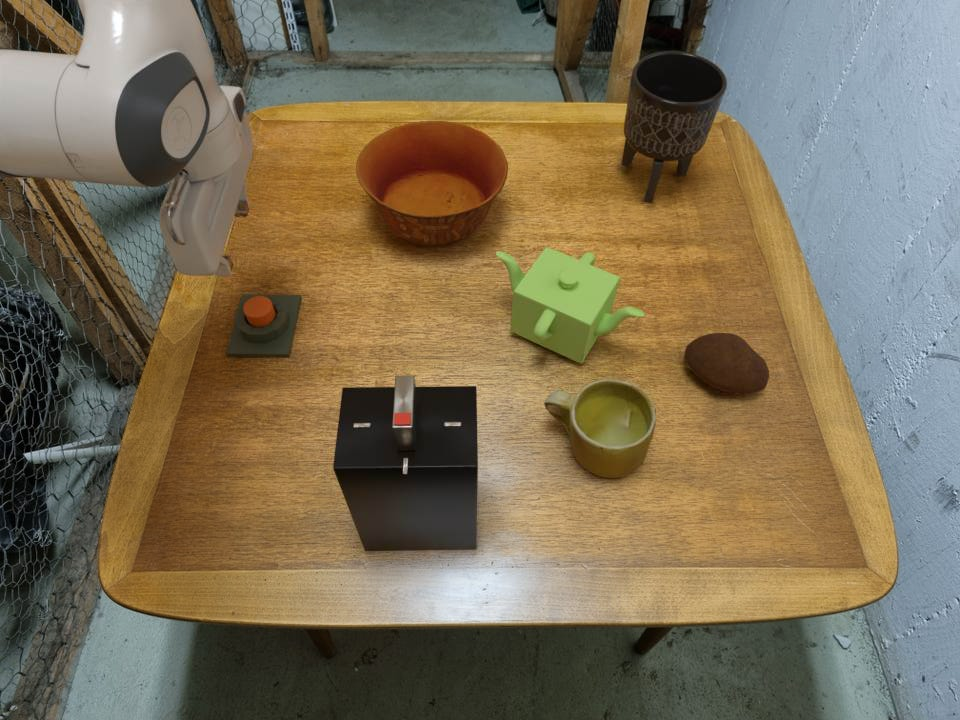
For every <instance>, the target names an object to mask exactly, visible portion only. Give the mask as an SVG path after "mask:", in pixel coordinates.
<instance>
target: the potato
mask: <svg viewBox="0 0 960 720" xmlns="http://www.w3.org/2000/svg"><path fill="white" fill-rule="evenodd" d="M684 359H685V362H686V364H687V366H688V368H689V369H690V371H692V372H693V374H694V375H696V377H698V378H699V379H700V380H701V381H703V382H704V383H705V384H706V385H708V386H709V387H712V388H714V389H718V390H721V391H724V392H727V393H729V394H730V393H732V394H735V395H736V394H737V395H750V394H751V395H752V394H755V393H758V392H760V391H761V390H764V389H765V388H766V387H767V385H768V383H769V379H770V369H769V367H768V364H767V362H766V360H765V358H763V357H762V355H760V354H759V353H758V352H756V351H755V349H754V348H752V347H751V345H750V344H749V343H748V342H747V341H746V340H745V339H743V338H742V337H741V336H740V335H738V334H734V333H729V332H713V333H707V334H704V335H700V336H698V337H697V338H695V339H693V340H691V342H689V343H688V344H687V345H686V346H685V349H684Z"/></svg>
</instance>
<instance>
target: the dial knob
mask: <svg viewBox="0 0 960 720" xmlns="http://www.w3.org/2000/svg"><path fill="white" fill-rule="evenodd" d="M394 387H395V391H394V407H393V424H392V428H393V433H394V438H395V443H396V448H397V451H412V450H416V431H417V405H418V399H417V392H416V387H417V384H416V378H415V375H413V374H412V375H411V374H409V375H395V377H394Z"/></svg>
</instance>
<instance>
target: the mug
mask: <svg viewBox="0 0 960 720" xmlns="http://www.w3.org/2000/svg"><path fill="white" fill-rule="evenodd" d="M543 404H544V407H545V410H546V411H547V412H548V414H550V415H551V416H552V417H553V418H554V419H555V420H556V421H558V422H560V424H562V425H563V426H564V427H565V428H566V431H567V433H568V435H569V438H570V442H571V443H570V445H571V448H572V451H573V455H574V457H575V458H576V460H577V462H578V463H579V464H580V466H582V467H583V468H584V469H585V470H586V471H588V472H590V473H592V474H594V475H595V476H599V477H602V478H607V479H611V478H612V479H615V478H622V477H625V476H628V475H629V474H631V473H633V472H635V471H636V470H637V469H638V468H640V466H641V465H642V464H643V462H644V461H645V459H646V456H647V453H648V451H649V450H648V449H649V446H650V444H651V442H652V440H653V437H654V433H655V428H656V423H657V409H656V406H655V404H654V402H653V401H652V399H651V398H650V396H648V394H647V393H646V392H645V391H643V390H642V389H641V388H640V387H638V386H636V385H634V384H632V383H631V382H627V381H624V380H619V379H611V378H604V379H599V380H596V381H592V382H591V383H589V384H586V385H585V386H584V387H583V388H582V389H581V390H580V391H579V392H578V393H577V394H576V395H572V394H570V393H568V392H567V391H563V390H556V391H552V392H551V393H549V395H548V396H547V397H546V398H545V400H544V402H543Z"/></svg>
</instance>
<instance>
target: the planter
mask: <svg viewBox="0 0 960 720" xmlns="http://www.w3.org/2000/svg"><path fill="white" fill-rule="evenodd" d="M727 87H728V80H727V76H726V74H725V73H724V71H723V70H722V69H721V68H720V67H719V66H718V65H717V64H715V63H714V62H712V61H711V60H709V59H707V58H706V57H703V56H700V55H698V54H694V53H690V52H685V51H677V50H671V51H670V50H669V51H667V50H666V51H659V52H654V53H651V54H648V55H645V56H644V57H642V58H640V59H639V60H638V61H637V62H636V63H635V65H634V66H633V68H632V72H631V77H630V84H629V90H628V96H627V103H626V110H625V116H624V122H623V135H624V138H625V140H624V146H623V151H622V157H621V163H620V164H621V166H623V167H625V168H628V167H630V166H631V165H632V164H633V161H634V158H635V156H636V154H637V153H638V154H640V155H642V156H644V157H646V158H649V159H652V165H651V169H650V173H649V178H648V181H647V182H648V183H647V186H646V190H645V195H644V199H643V202H645V203H650V204H653V203H654V198H655V195H656V193H657V192H656V191H657V188H658V184H659V181H660V177H661V174H662V171H663V167H664V164H665V162H677V164H676V165H677V166H676V174H677V175H678V177H685V176H687V174H688V172H689V169H690V166H691V163H692V160H693V158H694V156H695V155H696V154H697V153H699V152H700V151H702V148H703V147H704V146H705V143H706V141H707V139H708V137H709V134H710V131H711V129H712V126H713V124H714V122H715V119H716V115H717V113H718V110H719V108H720V106H721V103H722V101H723V98H724V95H725V93H726V91H727Z"/></svg>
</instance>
